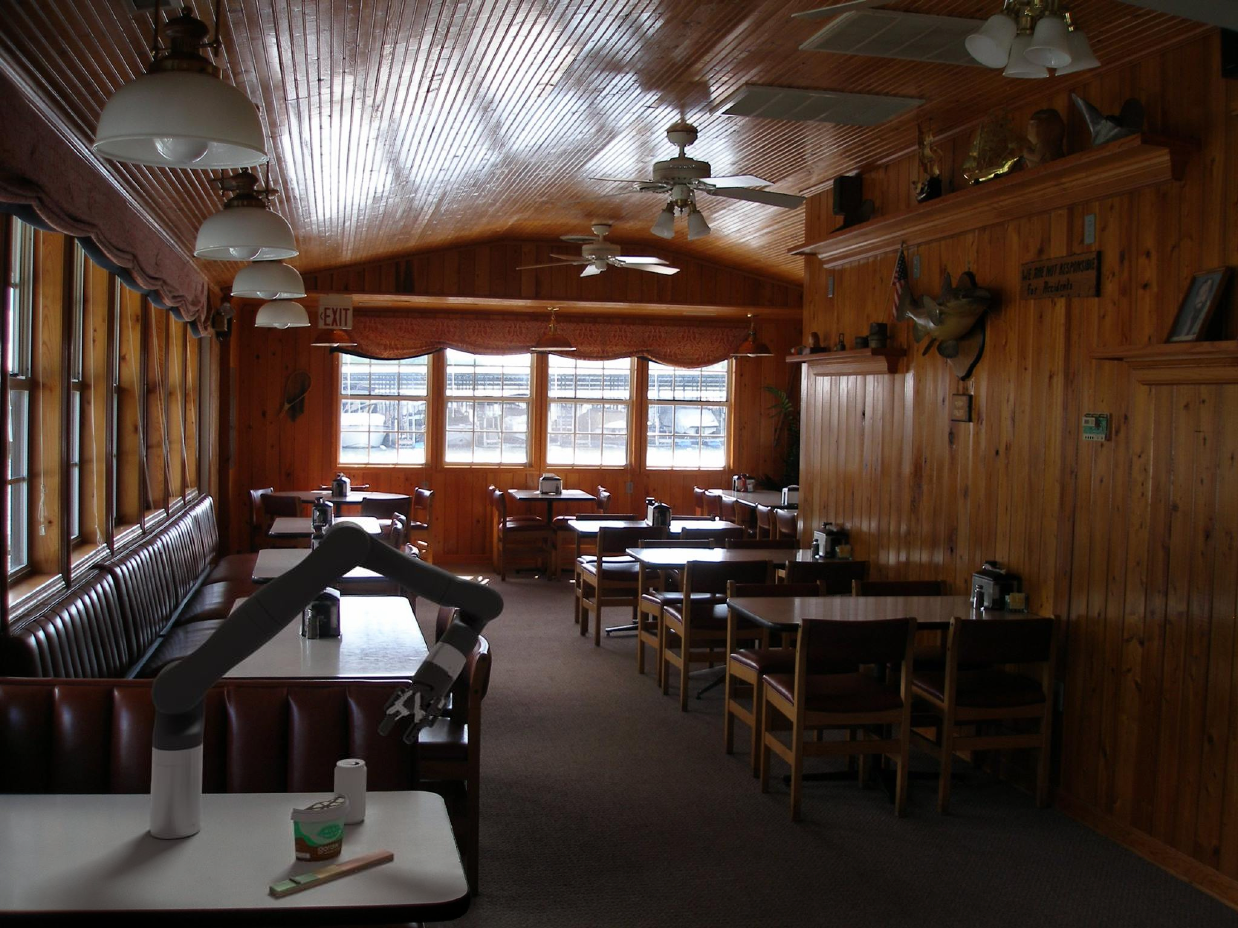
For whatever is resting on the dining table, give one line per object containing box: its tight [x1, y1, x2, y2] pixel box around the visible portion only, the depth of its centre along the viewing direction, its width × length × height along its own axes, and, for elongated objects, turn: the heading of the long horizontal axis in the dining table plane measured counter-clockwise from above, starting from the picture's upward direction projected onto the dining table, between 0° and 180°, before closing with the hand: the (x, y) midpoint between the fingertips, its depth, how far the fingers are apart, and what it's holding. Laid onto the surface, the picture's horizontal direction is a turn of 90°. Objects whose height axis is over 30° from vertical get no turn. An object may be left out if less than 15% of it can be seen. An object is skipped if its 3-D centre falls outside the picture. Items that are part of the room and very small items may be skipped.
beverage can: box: [333, 758, 368, 825], centre depth 220 cm, size 6×6×12 cm
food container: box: [290, 793, 350, 863], centre depth 201 cm, size 12×6×10 cm, turn 148°
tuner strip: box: [268, 848, 395, 898], centre depth 192 cm, size 3×24×2 cm, turn 139°
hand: (393, 737), depth 211 cm, fingers open, 8 cm apart
